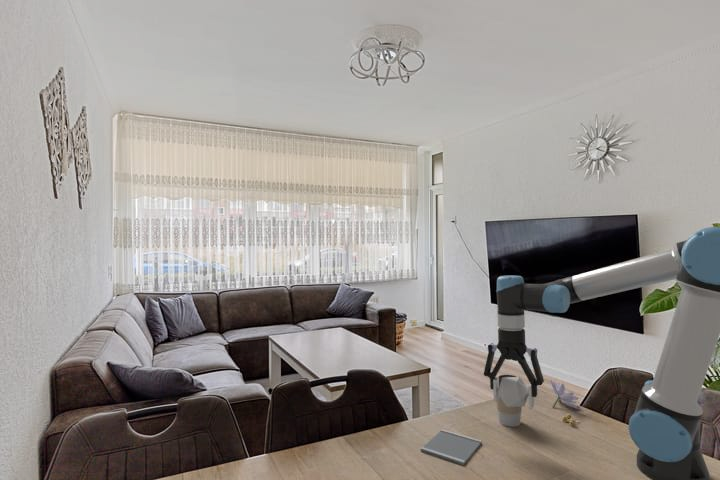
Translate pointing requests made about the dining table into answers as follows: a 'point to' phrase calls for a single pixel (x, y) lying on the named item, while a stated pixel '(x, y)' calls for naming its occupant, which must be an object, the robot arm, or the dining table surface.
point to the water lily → (563, 394)
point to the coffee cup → (508, 410)
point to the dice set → (571, 421)
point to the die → (513, 391)
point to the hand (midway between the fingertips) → (513, 403)
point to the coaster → (452, 446)
